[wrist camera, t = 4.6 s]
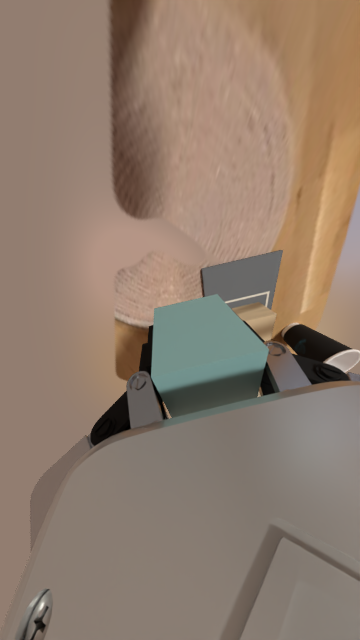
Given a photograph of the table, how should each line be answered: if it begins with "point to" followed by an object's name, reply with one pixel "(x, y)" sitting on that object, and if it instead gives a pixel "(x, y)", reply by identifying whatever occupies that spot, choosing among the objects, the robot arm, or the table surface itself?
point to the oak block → (258, 318)
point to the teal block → (204, 356)
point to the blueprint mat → (244, 280)
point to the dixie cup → (319, 347)
